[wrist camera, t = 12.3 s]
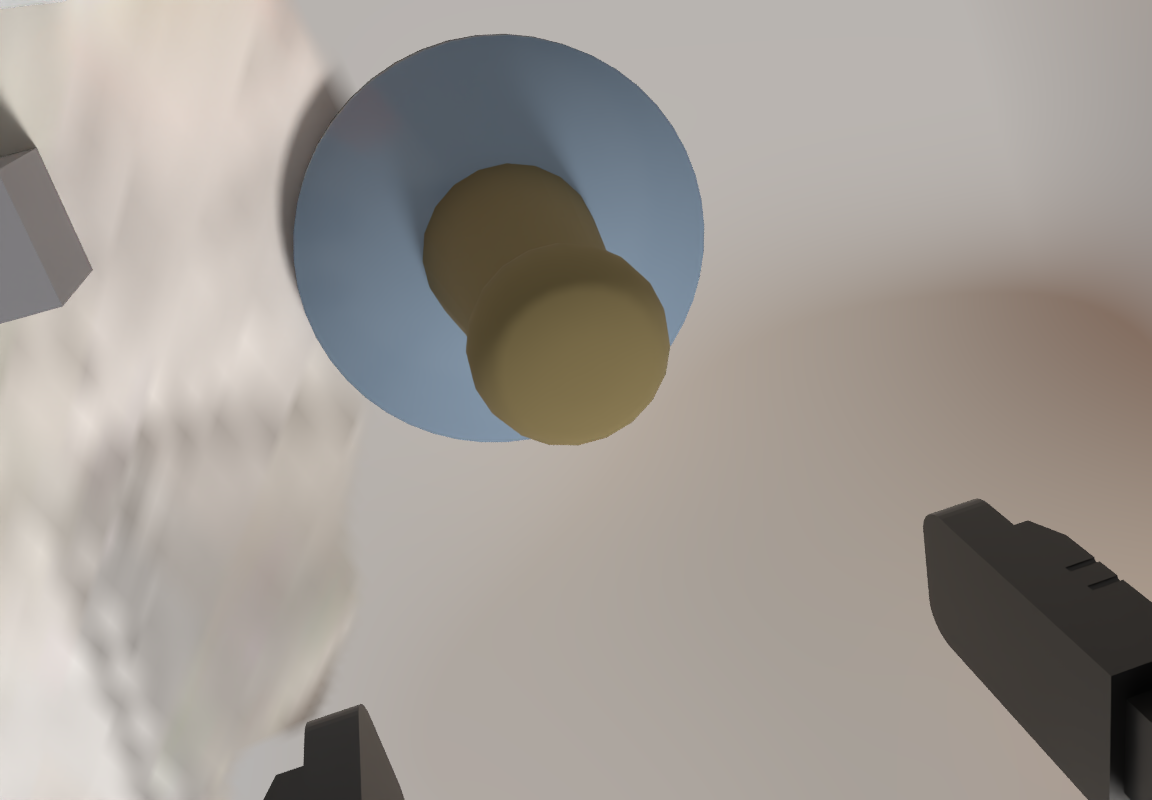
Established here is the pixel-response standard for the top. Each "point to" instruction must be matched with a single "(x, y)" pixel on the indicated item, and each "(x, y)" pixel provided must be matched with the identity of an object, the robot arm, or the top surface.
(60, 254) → the graphite block
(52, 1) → the skincare box
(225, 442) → the top surface
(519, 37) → the slate plate
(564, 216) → the cork
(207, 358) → the top surface
